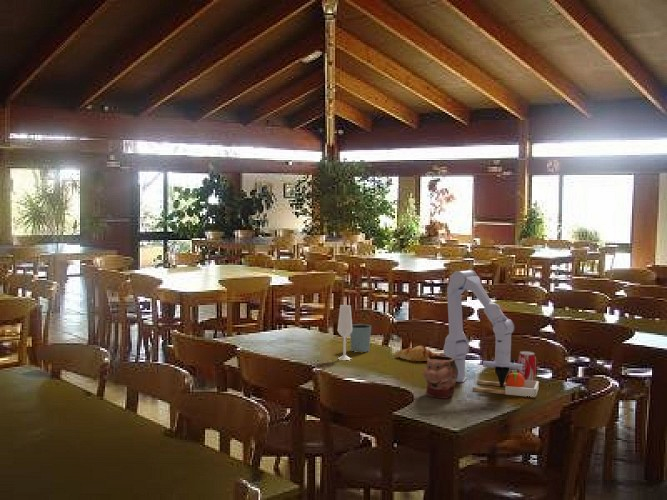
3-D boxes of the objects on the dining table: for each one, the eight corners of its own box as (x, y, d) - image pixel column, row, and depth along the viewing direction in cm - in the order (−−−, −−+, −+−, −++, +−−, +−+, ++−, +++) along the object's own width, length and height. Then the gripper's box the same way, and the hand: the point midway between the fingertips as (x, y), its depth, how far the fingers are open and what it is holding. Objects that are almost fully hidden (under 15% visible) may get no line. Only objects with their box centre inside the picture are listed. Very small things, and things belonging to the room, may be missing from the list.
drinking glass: (374, 350, 361) (375, 325, 361) (363, 354, 353) (364, 328, 352) (356, 348, 367) (356, 323, 366) (345, 351, 358) (345, 326, 357)
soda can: (536, 385, 299) (537, 355, 298) (517, 384, 300) (518, 354, 299) (534, 380, 306) (535, 351, 305) (515, 379, 307) (517, 350, 306)
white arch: (505, 394, 284) (505, 386, 284) (509, 386, 297) (509, 378, 297) (535, 397, 281) (536, 389, 280) (538, 388, 293) (538, 381, 293)
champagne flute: (352, 357, 344) (353, 304, 343) (351, 361, 338) (352, 306, 336) (337, 357, 345) (338, 304, 343) (336, 360, 338) (337, 306, 337)
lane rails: (472, 390, 288) (472, 387, 288) (477, 383, 301) (477, 380, 301) (504, 394, 285) (505, 390, 284) (508, 386, 297) (509, 383, 297)
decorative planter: (431, 386, 294) (432, 350, 293) (463, 390, 290) (464, 353, 289) (417, 398, 276) (418, 360, 275) (450, 402, 271) (451, 363, 270)
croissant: (393, 366, 345) (390, 352, 341) (400, 352, 353) (397, 338, 349) (439, 370, 336) (437, 356, 333) (444, 356, 344) (442, 341, 340)
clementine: (524, 394, 285) (525, 375, 285) (505, 392, 287) (506, 373, 286) (523, 388, 293) (524, 370, 292) (505, 387, 294) (506, 369, 294)
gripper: (482, 351, 289) (481, 387, 290) (521, 355, 284) (520, 391, 285) (484, 348, 296) (483, 383, 296) (523, 351, 291) (522, 386, 292)
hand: (501, 386), depth 291 cm, fingers closed
